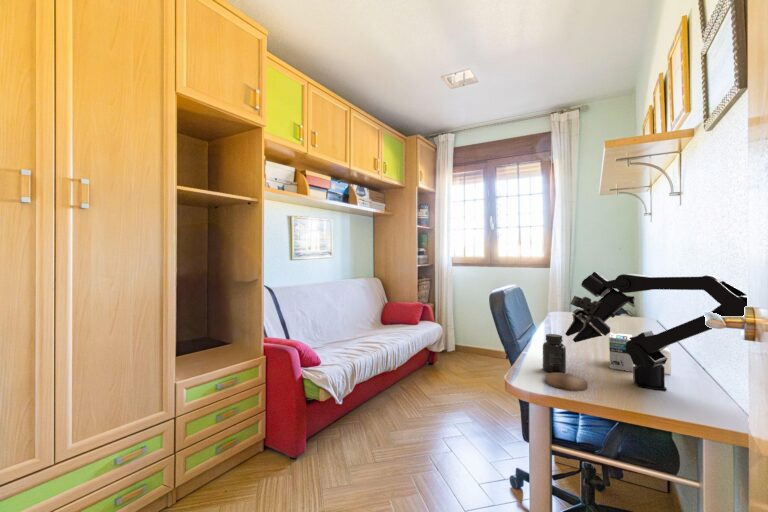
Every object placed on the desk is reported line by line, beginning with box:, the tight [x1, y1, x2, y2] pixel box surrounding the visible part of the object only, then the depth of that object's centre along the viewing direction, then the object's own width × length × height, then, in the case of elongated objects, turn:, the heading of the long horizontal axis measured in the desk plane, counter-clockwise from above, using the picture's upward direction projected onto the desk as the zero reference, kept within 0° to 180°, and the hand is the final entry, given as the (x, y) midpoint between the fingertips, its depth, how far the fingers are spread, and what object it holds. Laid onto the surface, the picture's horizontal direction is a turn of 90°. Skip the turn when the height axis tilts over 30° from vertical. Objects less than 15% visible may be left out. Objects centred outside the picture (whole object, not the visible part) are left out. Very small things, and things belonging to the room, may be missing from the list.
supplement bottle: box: [542, 333, 567, 374], centre depth 109 cm, size 7×7×12 cm
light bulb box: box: [608, 331, 634, 373], centre depth 114 cm, size 11×7×11 cm, turn 143°
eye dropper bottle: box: [661, 347, 672, 376], centre depth 108 cm, size 4×6×12 cm
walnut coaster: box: [544, 373, 588, 392], centre depth 97 cm, size 11×11×2 cm
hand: (569, 338), depth 108 cm, fingers open, 9 cm apart
